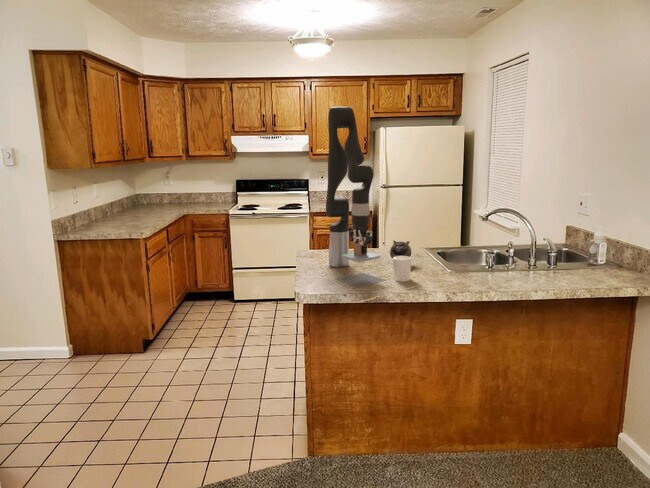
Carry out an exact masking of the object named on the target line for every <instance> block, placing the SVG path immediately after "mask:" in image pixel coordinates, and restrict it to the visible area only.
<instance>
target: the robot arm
mask: <svg viewBox="0 0 650 488" xmlns="http://www.w3.org/2000/svg"><path fill="white" fill-rule="evenodd" d="M327 118H328V119H327V123H328V124H327V125H328V157H327V190H326V201H325V212H326V213H325V214H326V216H327V217H329V218H339V220H337V221H336V222H333V223H331V224H330V225H329V227H328V229H329V245H328V265H329V266H330V267H333V268H345V267H349V266H350V260H349V259H345V258H342V257H341V255H343V254H347V253H350V250H349V249H350V246H349V245H350V244H349V242H352V243H353V245H354V244H355V243H362V254H366V253H367V252H368V245H371V243H372V240H373V237H374V231H370V230H369V225H370V214H371V213H370V190H371V186H372V183H373V180H374V179H373V178H374V169H373V167H372V166H370V165H367V164H366V165H365V164H364V165H363V163H364V160H365V156H364V153H363V150H362V147H361V143H360V141H359V134H358V127H357V121H356V115H355V113H354V110H353V108H352V107H351V106H332V107H330V108H329V110H328V117H327ZM338 129H348V135H347V138H346V140H345V143H344V146H343V145H342V143H341V142H340V139H339V134H338ZM346 176H347V179H348V181H350V183H353V184H361V183H362V185H361V186H360V187H357V188H353V190H352V193H351V195H352V196H351V199H352V200H351V201H352V203H351V225H352V227H350V226H349V225H350V223H349V221H350V220H349V219H350V218H349V217H350V201H349V199H348V198H347V197H335V196H336V192H337V190H338V188H339V186H340V185H341V183H342V182H343V180H344V179H345V177H346ZM349 240H350V241H349Z"/></svg>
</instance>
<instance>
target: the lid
mask: <svg viewBox="0 0 650 488" xmlns="http://www.w3.org/2000/svg"><path fill="white" fill-rule="evenodd" d="M341 257H342V258H345V259H349V261H352V262H355V263H359V264H360V263H365V262H367V261H368V262H369V261H372V260H373V261H374V260H378V259H381V255H379V254H375V253H372V252H368V251H367V253H366V254H362V243H361V242H359V243H355V244H354V243H353V251H352V252H349V253H347V254H343V255H341Z"/></svg>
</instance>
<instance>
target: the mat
mask: <svg viewBox="0 0 650 488" xmlns="http://www.w3.org/2000/svg"><path fill="white" fill-rule="evenodd" d="M335 281H339V282H341V283H345V284H348V285H351V286H354V287H355V288H362V287H366V286H370V285H374V284H378V283H382V282H385V281H387V279H385V278H381V277H377V276H374V275H371V274H367V273H364V272H360V273H355V274H352V275H347V276H343V277H338V278H335Z"/></svg>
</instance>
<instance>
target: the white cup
mask: <svg viewBox="0 0 650 488" xmlns="http://www.w3.org/2000/svg"><path fill="white" fill-rule="evenodd" d="M411 268H412V257H411V256H410V257H408V256H395V257H393V259H392V269H393V270H392V271H393V280H394V281H396V282H409V281H410V279H411V272H412V271H411V270H412V269H411Z"/></svg>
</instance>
